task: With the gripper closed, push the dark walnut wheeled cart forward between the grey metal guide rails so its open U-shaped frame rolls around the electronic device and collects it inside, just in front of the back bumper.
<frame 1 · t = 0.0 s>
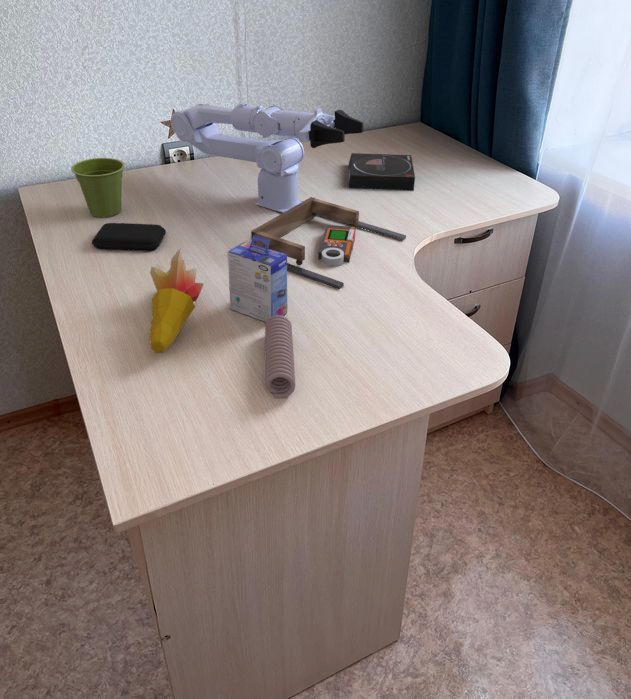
hand: (353, 132, 142), 22 cm above the table, fingers open, 7 cm apart
carrying case or bag: (131, 242, 148), on the table
plant pot: (106, 212, 159), on the table
dolly: (306, 230, 147), point 2 cm above the table, slide at 0.0 cm
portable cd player: (379, 179, 179), on the table
coil: (279, 366, 112), on the table
ink cartridge box: (259, 311, 125), on the table
track: (323, 245, 146), on the table
electronic device: (336, 252, 145), on the table
torch: (170, 322, 122), on the table
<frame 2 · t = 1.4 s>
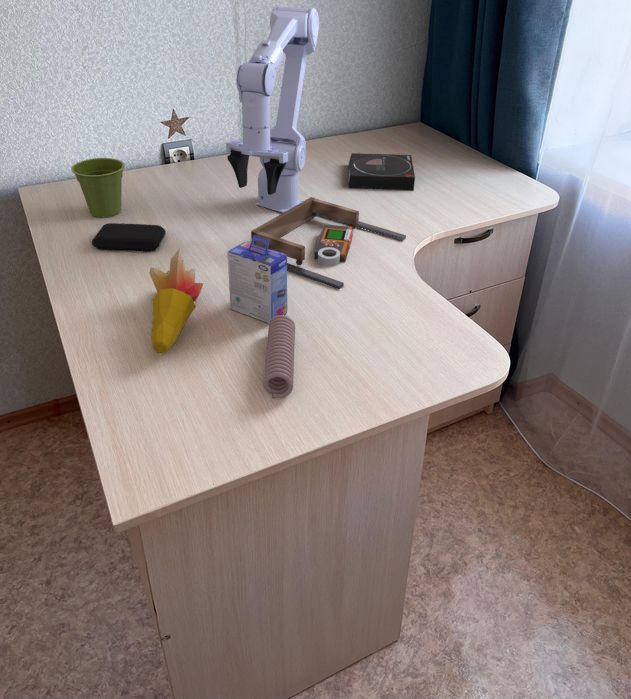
hand: (257, 189, 144), 11 cm above the table, fingers open, 7 cm apart
nothing on the table moved.
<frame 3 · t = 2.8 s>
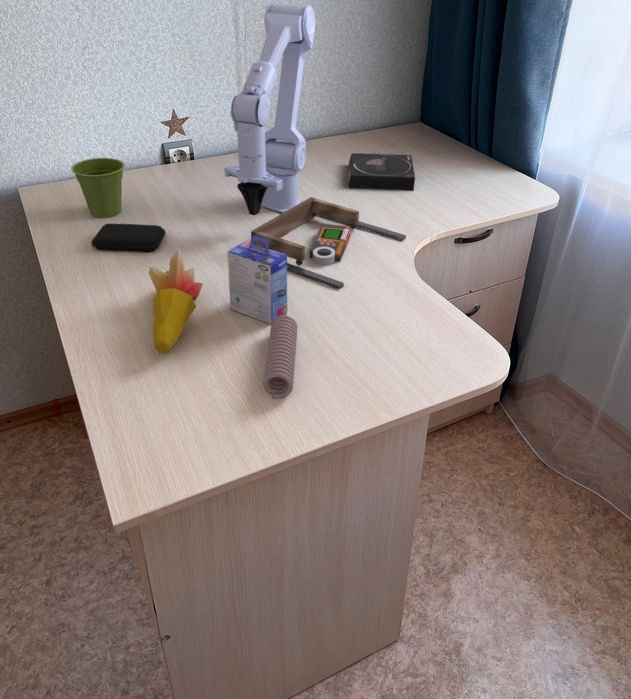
hand: (254, 213, 148), 5 cm above the table, fingers closed
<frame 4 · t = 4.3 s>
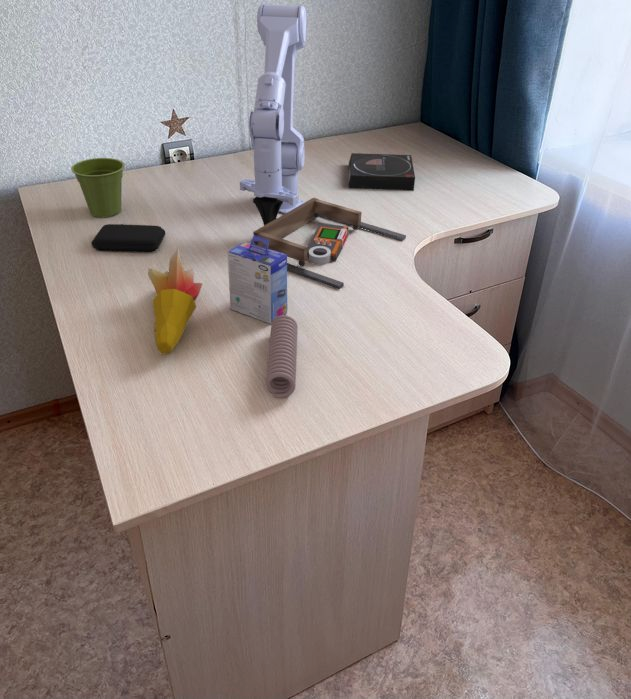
hand: (269, 227, 147), 3 cm above the table, fingers closed
dolly: (309, 230, 147), point 2 cm above the table, slide at 0.6 cm, touching gripper
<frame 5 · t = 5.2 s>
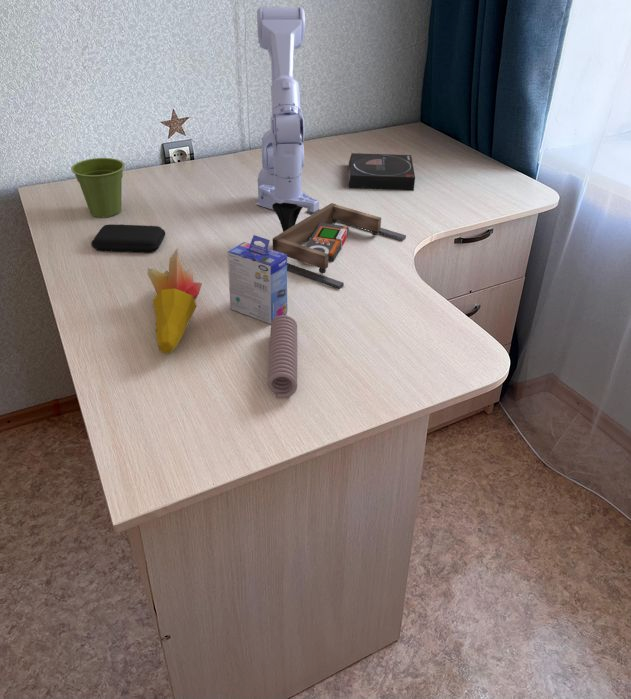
hand: (288, 233, 145), 3 cm above the table, fingers closed
dolly: (328, 236, 144), point 2 cm above the table, slide at 5.8 cm, touching electronic device, gripper
electronic device: (325, 250, 146), on the table, touching dolly
everything else where it was.
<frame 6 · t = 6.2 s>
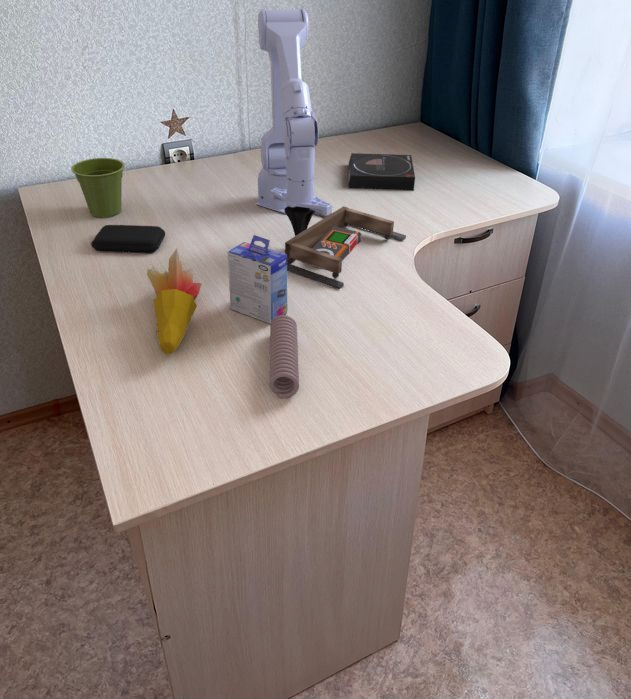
hand: (300, 237, 144), 3 cm above the table, fingers closed
dolly: (340, 240, 143), point 2 cm above the table, slide at 9.0 cm, touching gripper
electronic device: (333, 254, 144), on the table
everything else where it was.
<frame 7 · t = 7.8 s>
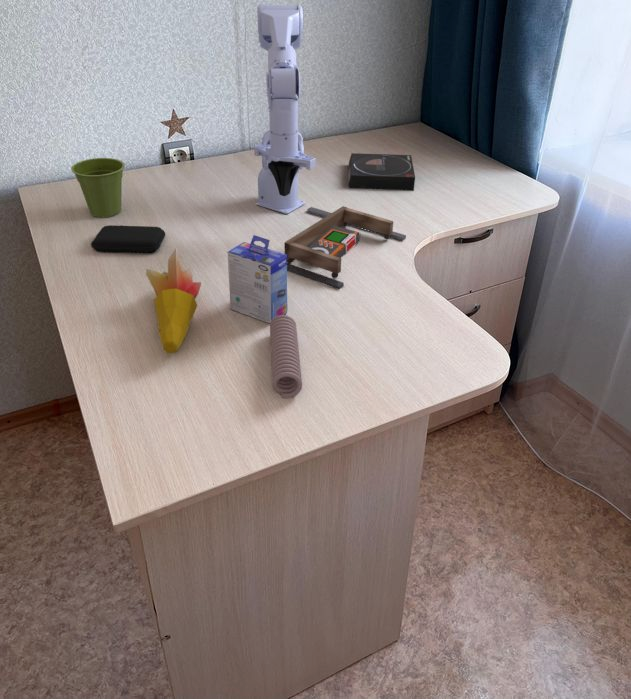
hand: (284, 194, 143), 10 cm above the table, fingers closed
dolly: (340, 240, 143), point 2 cm above the table, slide at 8.9 cm, touching electronic device
electronic device: (330, 253, 145), on the table, touching dolly
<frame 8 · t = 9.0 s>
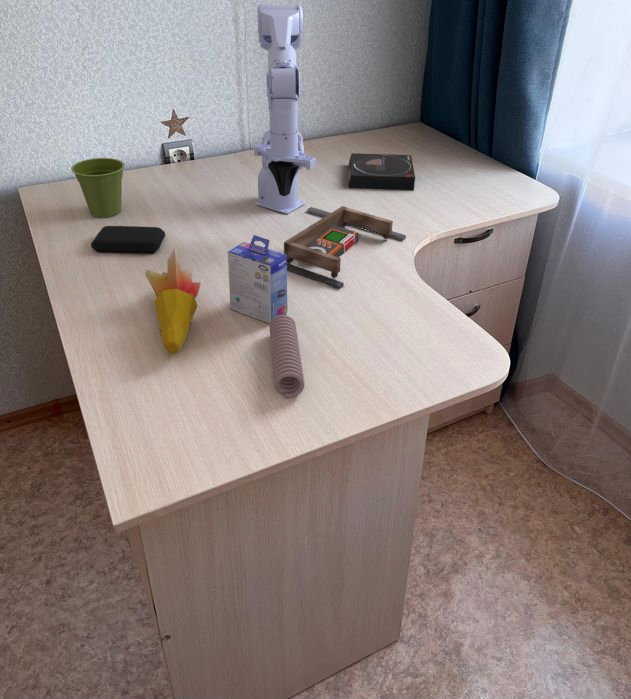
hand: (284, 194, 143), 10 cm above the table, fingers closed
dolly: (339, 240, 143), point 2 cm above the table, slide at 8.7 cm
electronic device: (328, 253, 145), on the table
at the end: dolly slide at 8.7 cm; electronic device inside the target area (1.6 cm from its centre), on the table; electronic device tilted 0° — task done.
